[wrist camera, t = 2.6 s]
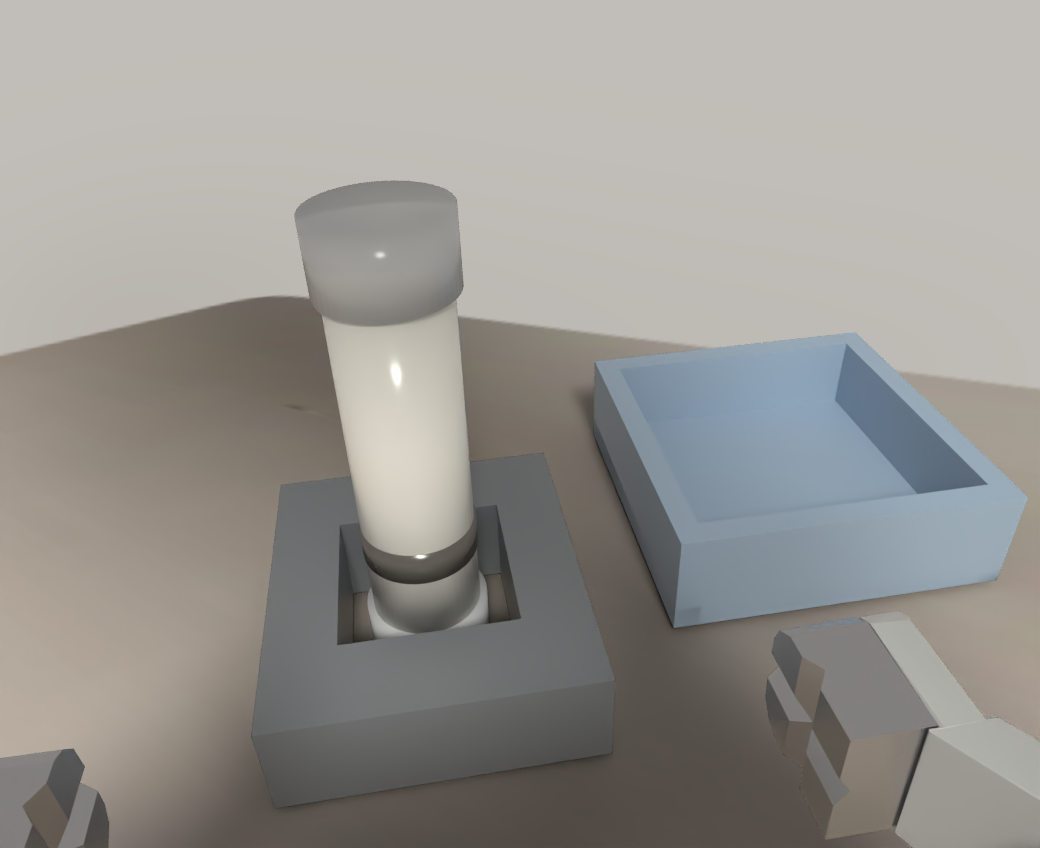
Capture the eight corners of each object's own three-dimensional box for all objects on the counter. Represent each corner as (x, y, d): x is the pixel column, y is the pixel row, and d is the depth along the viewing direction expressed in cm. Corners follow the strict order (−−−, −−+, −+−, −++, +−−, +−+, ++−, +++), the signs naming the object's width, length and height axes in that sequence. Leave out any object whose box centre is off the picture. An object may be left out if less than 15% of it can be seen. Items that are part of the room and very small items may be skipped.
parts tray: (673, 628, 27) (681, 544, 25) (593, 433, 36) (594, 361, 34) (996, 580, 28) (1028, 497, 26) (840, 403, 37) (855, 332, 35)
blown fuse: (377, 694, 25) (289, 244, 17) (374, 605, 28) (299, 187, 20) (497, 675, 26) (465, 228, 18) (483, 590, 29) (449, 175, 21)
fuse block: (275, 808, 22) (251, 736, 21) (297, 551, 30) (280, 484, 29) (611, 753, 23) (615, 680, 22) (545, 518, 31) (543, 452, 30)
